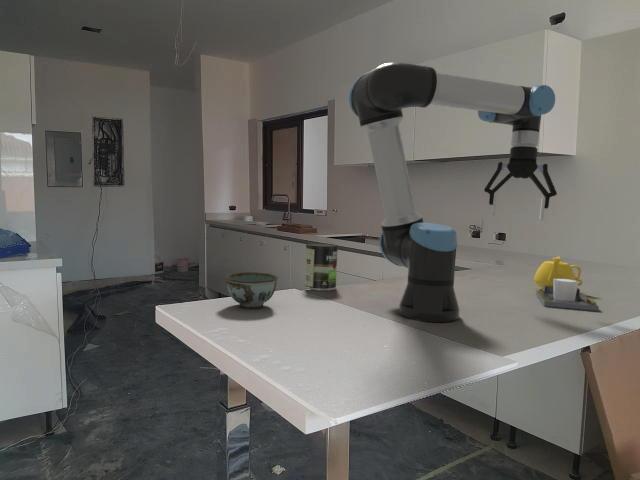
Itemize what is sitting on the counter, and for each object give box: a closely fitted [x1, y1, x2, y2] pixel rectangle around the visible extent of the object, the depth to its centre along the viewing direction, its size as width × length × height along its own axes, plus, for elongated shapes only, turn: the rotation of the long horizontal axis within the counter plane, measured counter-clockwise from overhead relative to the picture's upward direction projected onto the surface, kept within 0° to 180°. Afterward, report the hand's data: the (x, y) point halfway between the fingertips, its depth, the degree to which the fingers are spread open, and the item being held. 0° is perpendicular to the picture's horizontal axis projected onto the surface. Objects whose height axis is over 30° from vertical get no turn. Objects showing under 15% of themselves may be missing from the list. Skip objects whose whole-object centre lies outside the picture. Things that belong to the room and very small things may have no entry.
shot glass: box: [553, 278, 579, 301], centre depth 147 cm, size 7×7×7 cm
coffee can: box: [304, 242, 339, 292], centre depth 156 cm, size 10×10×14 cm
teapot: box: [533, 255, 583, 291], centre depth 165 cm, size 20×15×12 cm
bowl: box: [225, 271, 279, 310], centre depth 127 cm, size 14×13×8 cm
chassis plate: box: [535, 285, 600, 312], centre depth 147 cm, size 18×14×4 cm
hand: (516, 217), depth 146 cm, fingers open, 13 cm apart
